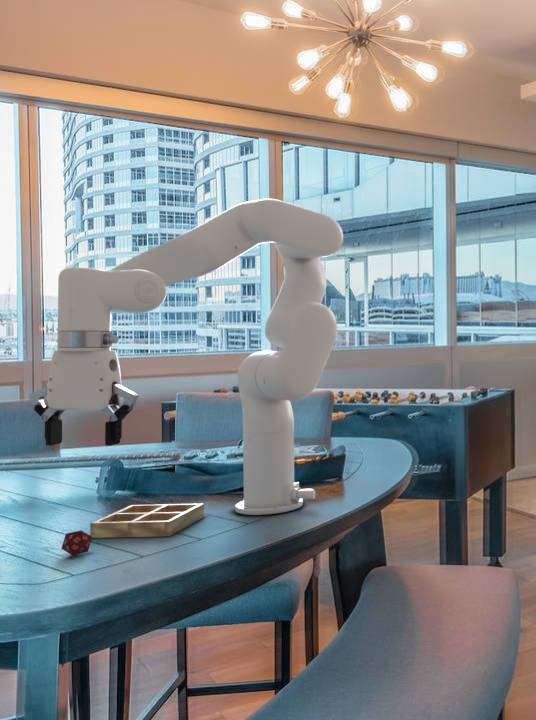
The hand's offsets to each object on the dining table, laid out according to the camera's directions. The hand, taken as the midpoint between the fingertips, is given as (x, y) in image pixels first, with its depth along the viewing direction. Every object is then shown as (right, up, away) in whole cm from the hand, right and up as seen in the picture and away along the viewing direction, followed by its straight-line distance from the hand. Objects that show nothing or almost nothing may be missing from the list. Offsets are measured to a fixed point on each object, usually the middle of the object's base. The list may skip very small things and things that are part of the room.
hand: (83, 444), depth 134 cm
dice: (+1, -18, -3) cm, 18 cm away
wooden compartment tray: (+3, -17, +14) cm, 22 cm away
